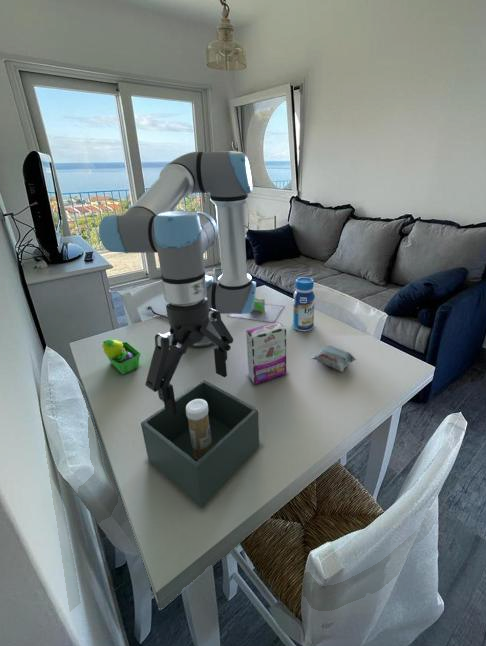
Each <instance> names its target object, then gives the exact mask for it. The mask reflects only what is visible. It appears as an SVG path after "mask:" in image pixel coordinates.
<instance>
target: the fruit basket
mask: <svg viewBox="0 0 486 646" xmlns="http://www.w3.org/2000/svg"><path fill="white" fill-rule="evenodd" d="M102 349H103V353H104V354H105V356H107V359H108V361H109V362H110V363H111V365H113V366H114V368H116V369H117V371H118V372H120V374H122V375H125V374H126V373H129V372H131V371H133V370H135V369H137V368H139V364H140V357H141V352H139V351H138V349H136V348H134V346H132V345H131V344H130V343H129V342H127V341H123V342H122V341H120V340H116V339H112V338H107V339H106V340H103V341H102Z"/></svg>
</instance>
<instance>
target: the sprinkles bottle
mask: <svg viewBox="0 0 486 646" xmlns="http://www.w3.org/2000/svg"><path fill="white" fill-rule="evenodd" d="M186 415H187V418H188V422H189V431H190V437H191V444H192V447H193V457H194V458H195V459H196V460H199V459H201V458H202V457H203V456H204V455H205V454H206V453H207V452H208V451H209V450H210V449H211V448H213V447H212V441H211V440H212V439H211V431H210V425H209V418H208V404H207V402H206V401H205V400H203V399H195V400H192V401H190V402H189V403H188V404H187V406H186Z"/></svg>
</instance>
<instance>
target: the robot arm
mask: <svg viewBox="0 0 486 646" xmlns="http://www.w3.org/2000/svg"><path fill="white" fill-rule="evenodd" d="M252 192H253V179H252V172H251V166H250V162H249V159H248V156H247V154H246V153H244V152H242V151H235V150H222V151H221V150H219V151H218V150H217V151H192V152H187V153H185V154H182V155H180V156H178V157H176V158H174V159H173V160H171V161H170V162H168V163H167V164H166V165H165V166H163V168H162V169H161V170H160V172H159V175H158V178H157V180H156V181H155V182H153V184H152V185H151V186H150V187H148V189H147V190H146V191H145V192H144V193H143V194H142V195H141V196H140V197H139V198H138V199H137V200H136V201H135V202H134V203H133V204H132V205H131V206H130V207H129V208H128V210H126V212H124V214H123V213H122V214H118V213H115V214H108V215H105V216H104V217H102V218H101V220H100V222H99V225H98V236H99V240H100V241H101V244H102V247H103V248H104V249H106V250H107V251H108V252H111V253H121V254H123V253H124V254H140V253H141V254H145V253H150V254H151V253H152V254H154V253H155V254H156V253H157V256H158V262H159V268H160V276H161V282H162V283H161V284H162V291H163V298H164V301H165V310H166V315H163V314H161V313H158V312H155V311H154V309H153V308H152V306H151V305H150V306H148V307H147V309H148V310H149V309H150V311H151V312H152V313H153V314H154V315H156V316H159V317H162V318H165V319H167V320H168V324H169V327H170V328H169V331H168V332H166V333H164V334H161V333H156V334H155V336H154V349H153V354H152V358H151V361H150V364H149V369H148V372H147V376H146V381H145V386H146V387H147V388H148V389H150V390H151V391H153V392H154V393H156V392H157V395H158V399H159V400H160V401H162V402H163V404H164V406H163V407H165V409H166V410H167V411H169V412H170V413H172V414H173V415H175V414H176V413H177V409H176V403H175V399H176V398H175V392H174V386H173V384H172V383H171V380H172V378H173V376H174V374H175V372H176V370H177V368H178V365H179V363H180V361H181V359H182V357H183V355H184V354H186V352H187V351H188V348H191V347H192V348H206V347H209V346H212V345H215V346H216V347H214V348H213V356H214V357H213V358H214V368H215V374H216V375H219V376H221V377H222V378H226V377H227V376H228V372H227V361H228V352H229V351H230V350H231V348H232V347H231V345H230V344H233V343H234V338H233V336H232V334H231V333H230V331H229V330H228V328H227V326H226V324H225V323H224V322H223V320H222V315H221V314H224V315H225V314H226V315H227V314H228V315H231V314H249V313H251V312H252V311H253V307H254V300H255V298H256V292H257V291H256V290H257V282H256V281H254V280H253V278H252V276H251V275H252V274H250V273H249V272H248V268H247V250H246V248H247V247H246V231H245V214H244V213H245V212H244V211H245V209H244V204H245V202H246V201H248V199H249V198H248V197H249V195H248V194H251V193H252ZM191 194H209V200H210V202H212V203H213V204H214V205H215V213H216V220H215V219H214V218H213V217H212V216H211V215H210V214H209V213H207V212H204V211H190V210H176V209H177V207H178V206H179V204H180V202H181V201H182V200H183V199H185V198H187V197H188V196H190V195H191ZM217 237H218V244H219V256H220V265H221V274H220V275H219V276H218V278H217V281H216V280H215V279H214V277H213V276H211V275H206V269H205V257H204V254H205V253H206V252H207V251H208V249H209V248H211V247H212V246H213V245H214V243H215V240H216V238H217ZM178 344H179V345H180V346H178Z"/></svg>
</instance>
